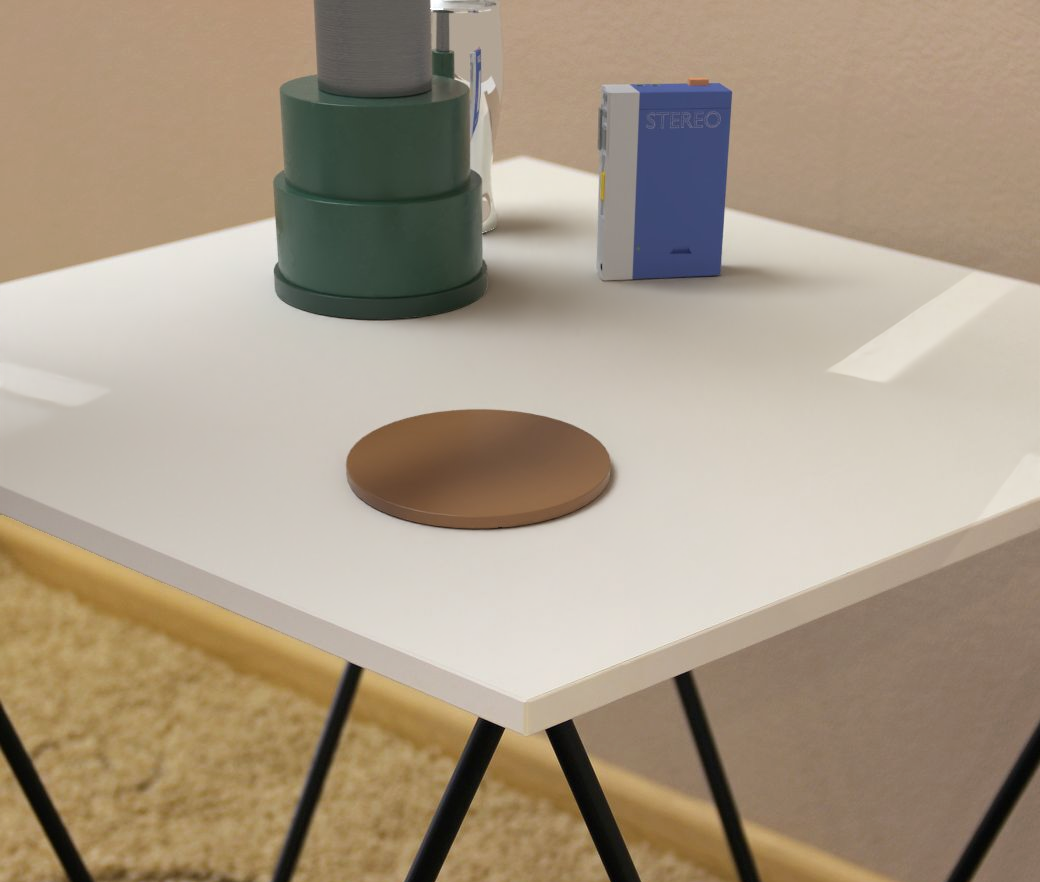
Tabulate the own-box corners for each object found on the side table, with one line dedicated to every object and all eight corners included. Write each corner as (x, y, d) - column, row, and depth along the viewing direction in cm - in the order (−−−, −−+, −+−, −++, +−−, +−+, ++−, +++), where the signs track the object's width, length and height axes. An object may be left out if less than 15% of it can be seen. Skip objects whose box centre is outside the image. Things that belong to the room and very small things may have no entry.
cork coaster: (291, 487, 67) (290, 475, 67) (443, 402, 77) (443, 391, 77) (523, 554, 62) (523, 541, 62) (655, 453, 72) (656, 442, 72)
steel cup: (294, 89, 88) (285, -78, 84) (363, 73, 93) (357, -85, 89) (388, 102, 85) (382, -69, 81) (454, 85, 90) (452, -77, 86)
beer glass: (448, 207, 111) (445, -8, 105) (523, 224, 108) (525, 2, 101) (383, 226, 106) (376, 1, 100) (459, 244, 102) (457, 12, 96)
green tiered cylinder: (229, 294, 92) (213, 91, 86) (360, 244, 102) (353, 60, 97) (407, 334, 86) (401, 119, 81) (526, 276, 96) (528, 83, 91)
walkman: (708, 263, 100) (719, 76, 95) (720, 276, 98) (733, 85, 92) (591, 268, 98) (596, 78, 93) (600, 280, 96) (606, 86, 91)
